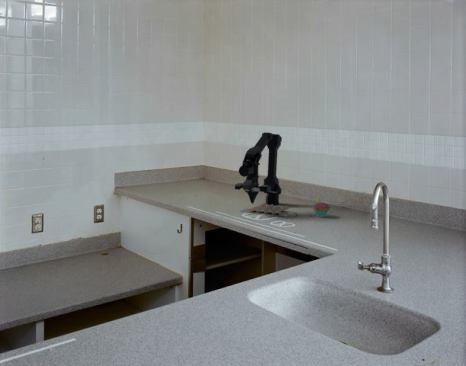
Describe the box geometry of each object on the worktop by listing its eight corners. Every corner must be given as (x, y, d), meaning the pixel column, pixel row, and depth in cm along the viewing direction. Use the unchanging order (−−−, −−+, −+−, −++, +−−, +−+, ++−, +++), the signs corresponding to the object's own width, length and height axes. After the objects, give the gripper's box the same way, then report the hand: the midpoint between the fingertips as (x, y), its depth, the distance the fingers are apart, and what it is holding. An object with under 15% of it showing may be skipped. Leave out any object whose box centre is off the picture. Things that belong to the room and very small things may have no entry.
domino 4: (271, 211, 286) (284, 207, 282) (274, 209, 290) (288, 205, 287) (272, 214, 286) (285, 210, 282) (275, 212, 290) (289, 208, 287)
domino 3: (263, 210, 288) (276, 206, 284) (267, 209, 292) (280, 204, 289) (264, 213, 288) (277, 209, 284) (268, 211, 292) (281, 207, 289)
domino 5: (278, 212, 284) (293, 213, 281) (282, 210, 289) (297, 212, 285) (278, 215, 284) (293, 217, 281) (282, 213, 289) (297, 215, 285)
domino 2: (255, 210, 290) (269, 205, 286) (259, 208, 294) (272, 204, 291) (256, 212, 290) (270, 208, 286) (260, 211, 294) (273, 206, 291)
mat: (238, 212, 292) (238, 211, 292) (246, 209, 300) (246, 208, 300) (283, 217, 281) (283, 216, 281) (289, 214, 289) (289, 213, 289)
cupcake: (319, 218, 279) (320, 195, 277) (309, 215, 287) (310, 192, 285) (332, 217, 283) (333, 194, 281) (322, 213, 290) (323, 191, 289)
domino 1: (248, 209, 292) (261, 204, 288) (252, 207, 296) (265, 203, 292) (249, 212, 292) (262, 207, 288) (253, 210, 296) (266, 205, 292)
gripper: (230, 174, 287) (229, 204, 290) (263, 177, 279) (262, 208, 282) (239, 172, 297) (239, 200, 300) (271, 174, 289) (271, 204, 292)
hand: (252, 203), depth 293 cm, fingers closed
